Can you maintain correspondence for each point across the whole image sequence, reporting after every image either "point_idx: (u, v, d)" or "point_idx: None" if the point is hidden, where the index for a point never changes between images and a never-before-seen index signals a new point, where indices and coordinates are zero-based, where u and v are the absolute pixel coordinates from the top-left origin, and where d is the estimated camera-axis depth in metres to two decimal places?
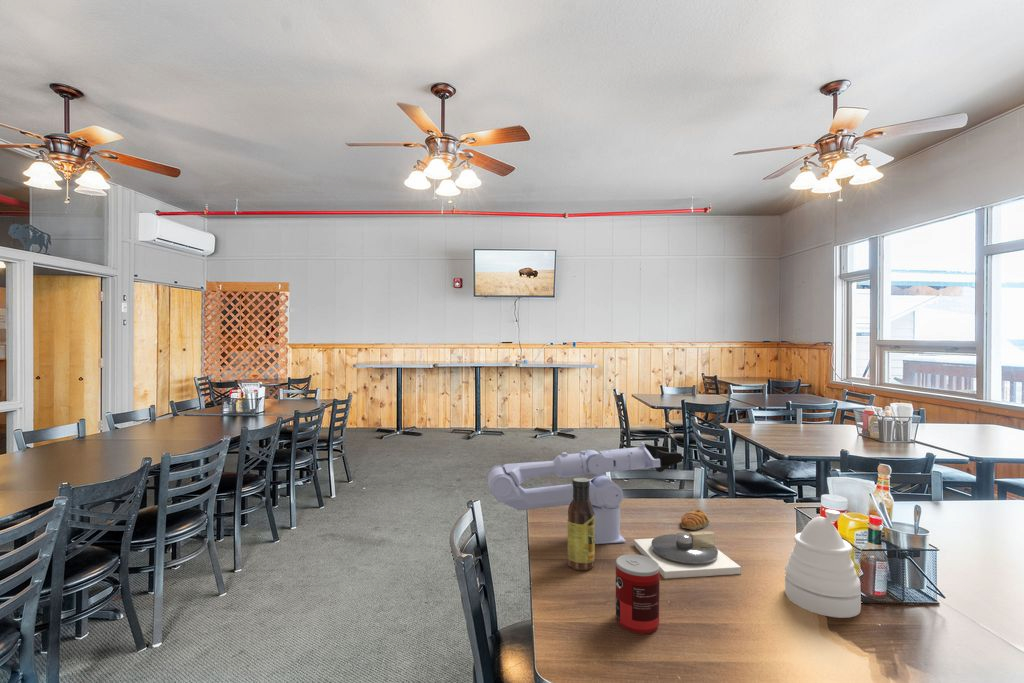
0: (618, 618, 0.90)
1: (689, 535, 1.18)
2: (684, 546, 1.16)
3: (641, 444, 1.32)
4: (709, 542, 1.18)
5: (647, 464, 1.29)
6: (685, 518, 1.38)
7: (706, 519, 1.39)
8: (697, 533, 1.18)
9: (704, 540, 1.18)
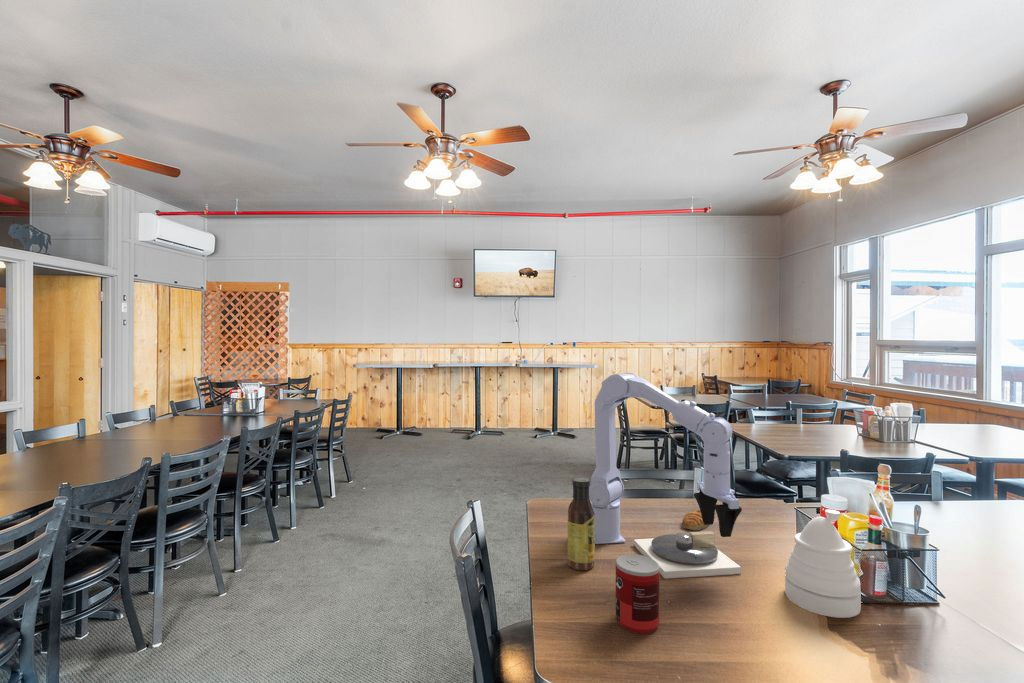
0: (618, 618, 0.90)
1: (689, 535, 1.18)
2: (684, 546, 1.16)
3: (731, 489, 1.14)
4: (709, 542, 1.18)
5: (718, 495, 1.11)
6: (686, 518, 1.38)
7: None
8: (697, 533, 1.18)
9: (704, 540, 1.18)
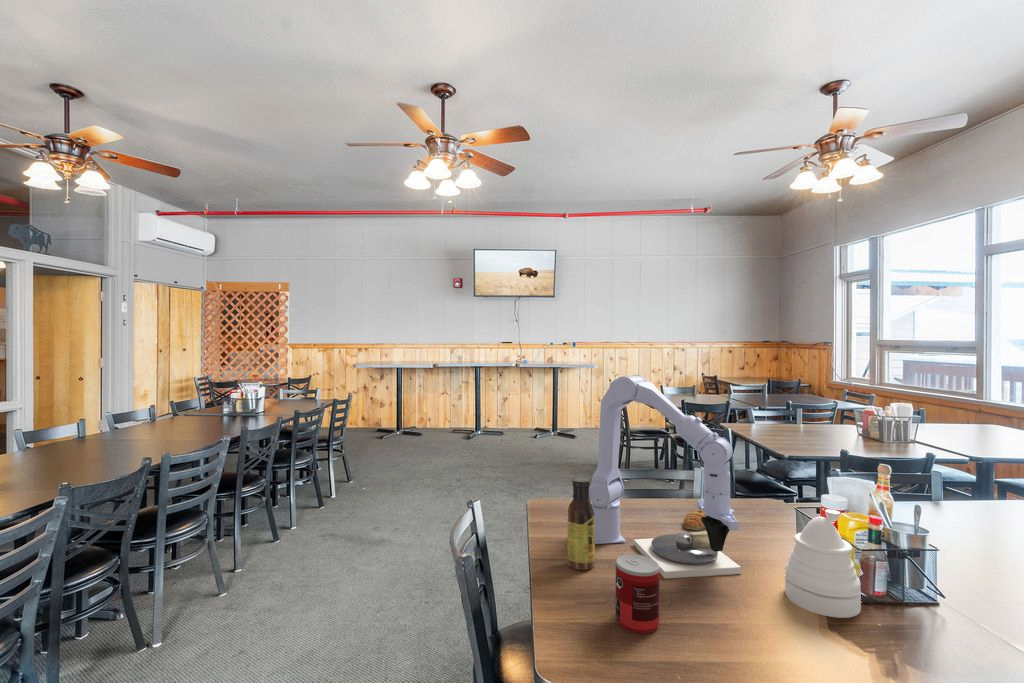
0: (618, 618, 0.90)
1: (689, 535, 1.18)
2: (684, 546, 1.16)
3: (731, 509, 1.14)
4: None
5: (718, 515, 1.11)
6: (688, 519, 1.38)
7: None
8: (697, 533, 1.18)
9: (704, 540, 1.18)
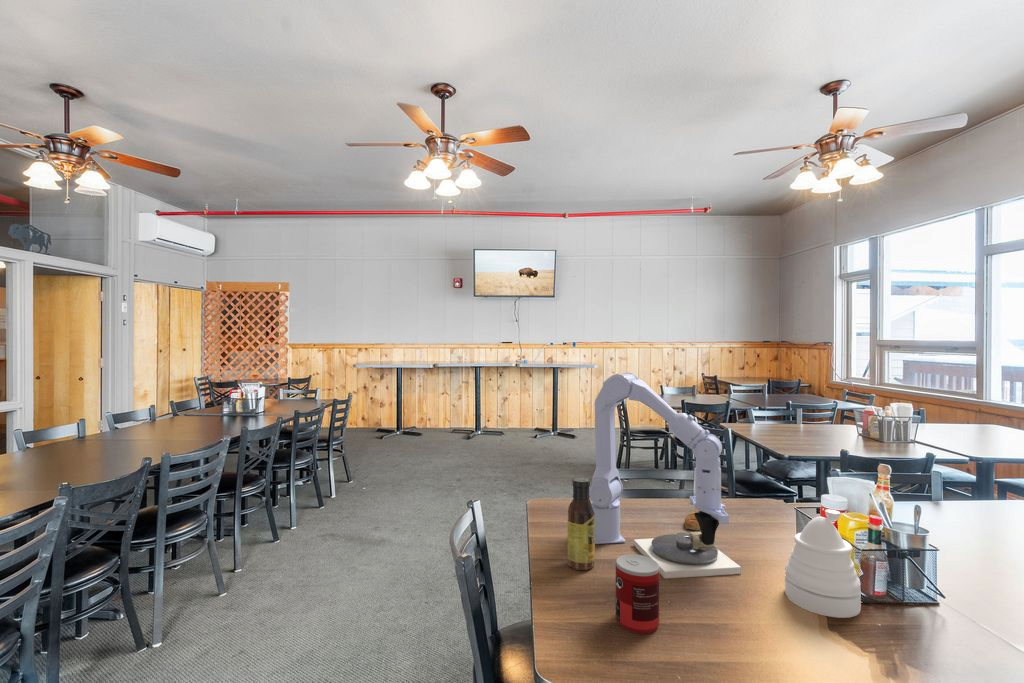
0: (618, 618, 0.90)
1: (689, 535, 1.18)
2: (684, 546, 1.16)
3: (722, 504, 1.18)
4: None
5: (709, 510, 1.14)
6: (689, 519, 1.38)
7: None
8: (697, 533, 1.18)
9: None
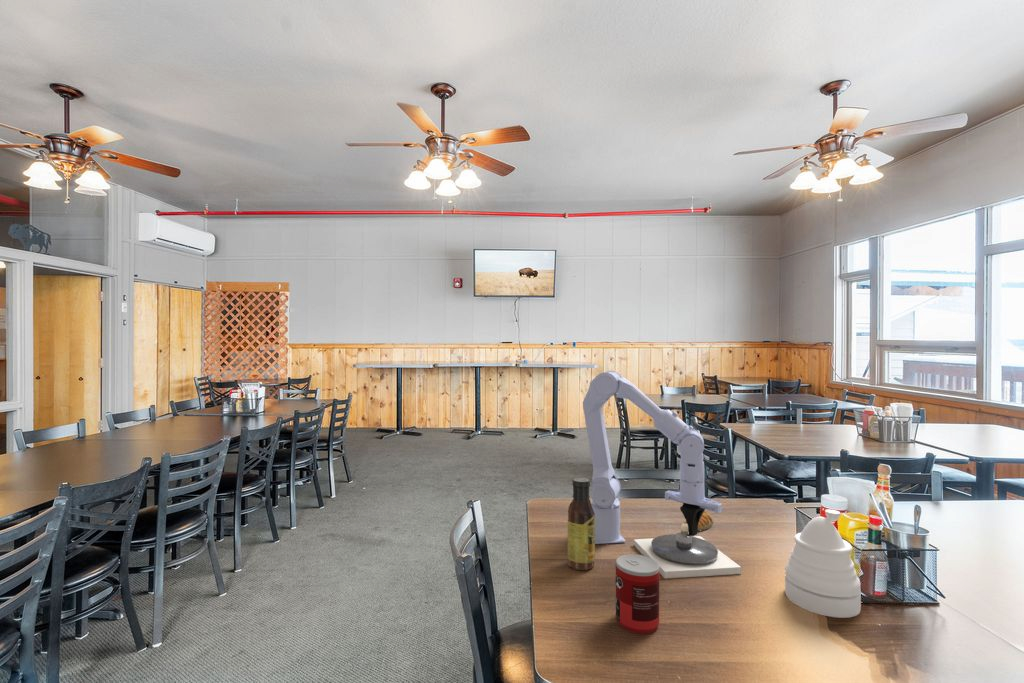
0: (618, 618, 0.90)
1: (684, 533, 1.19)
2: (691, 545, 1.17)
3: None
4: None
5: (700, 502, 1.19)
6: None
7: (710, 520, 1.38)
8: (685, 529, 1.21)
9: None
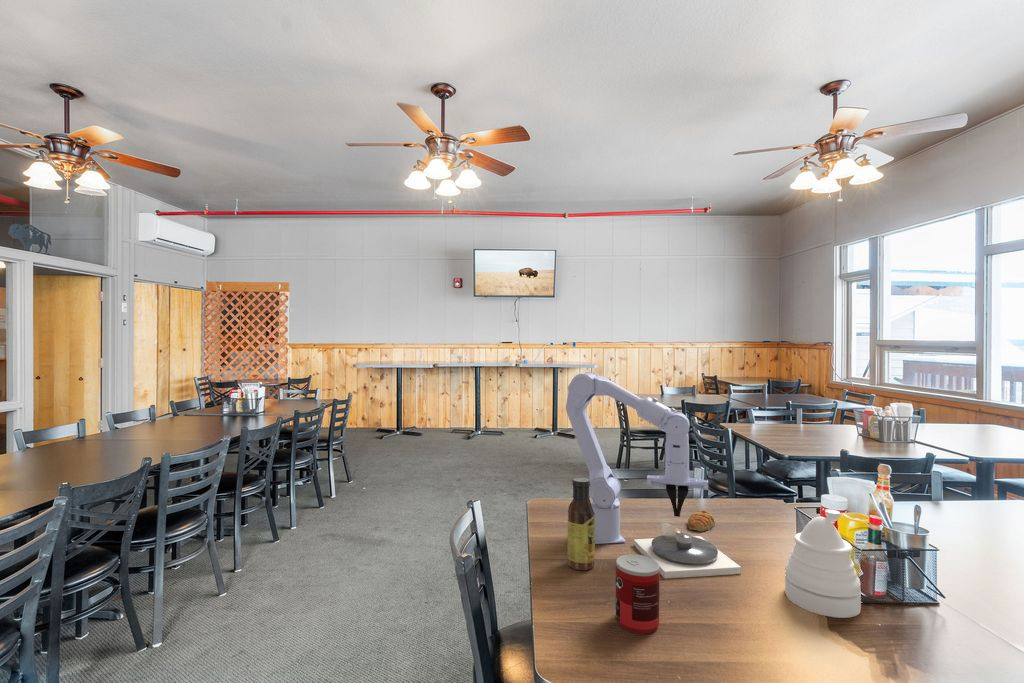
0: (618, 618, 0.90)
1: (680, 533, 1.19)
2: None
3: None
4: None
5: (689, 481, 1.22)
6: (692, 519, 1.37)
7: (713, 520, 1.38)
8: (675, 528, 1.21)
9: None
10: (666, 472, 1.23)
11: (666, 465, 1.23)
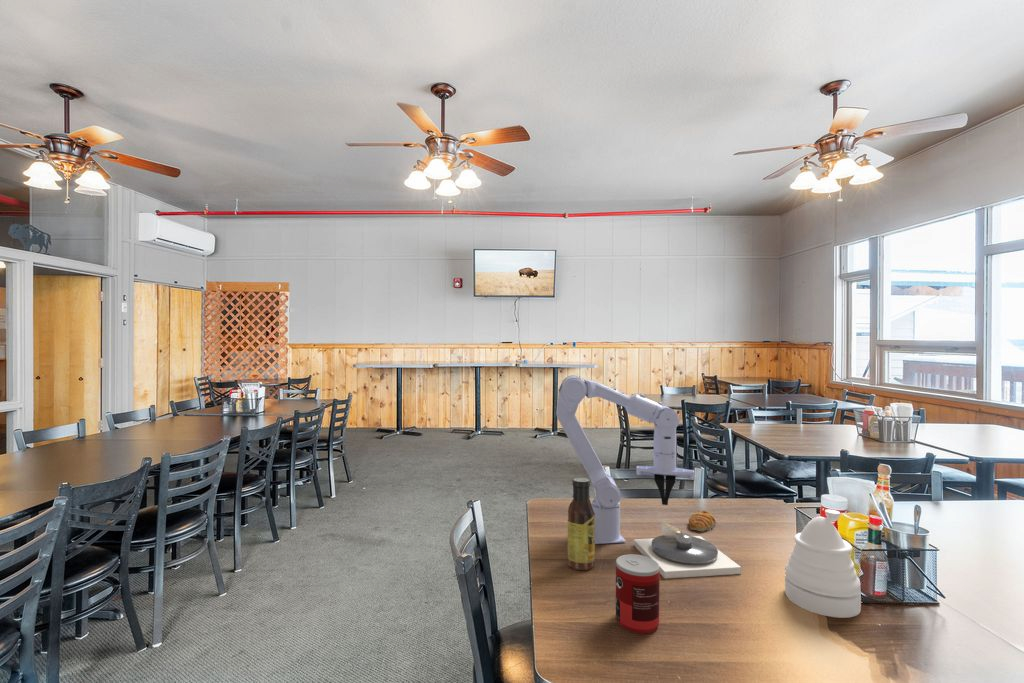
0: (618, 618, 0.90)
1: (680, 533, 1.19)
2: None
3: None
4: None
5: (676, 471, 1.27)
6: (693, 520, 1.37)
7: (714, 520, 1.38)
8: (675, 528, 1.21)
9: None
10: (654, 462, 1.29)
11: (654, 456, 1.29)
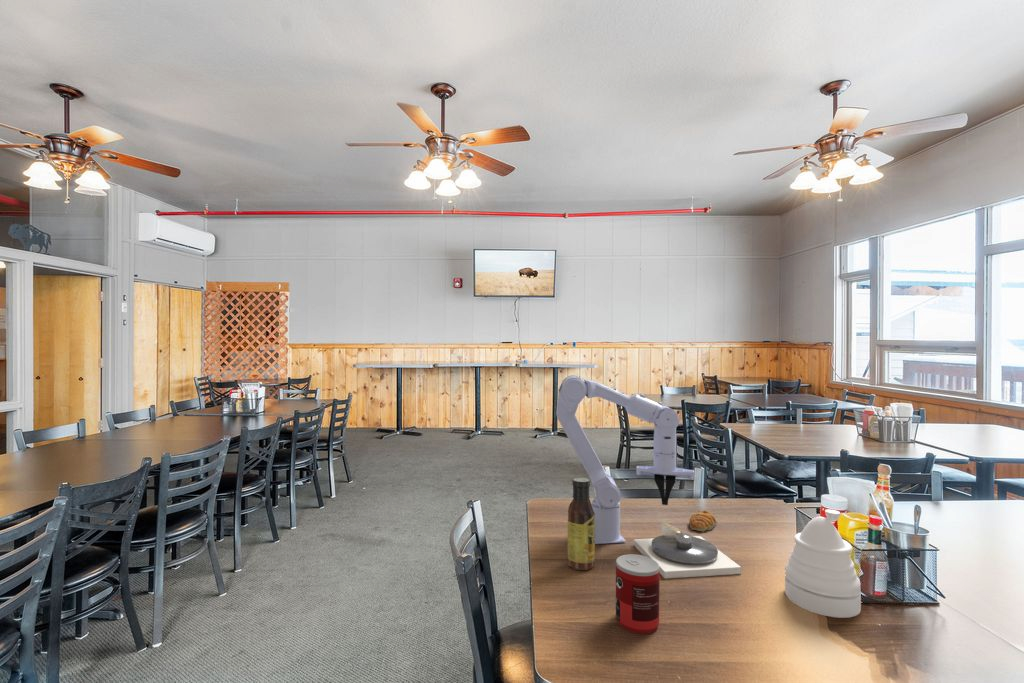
0: (618, 618, 0.90)
1: (680, 533, 1.19)
2: None
3: None
4: None
5: (676, 471, 1.27)
6: (694, 520, 1.37)
7: (714, 520, 1.38)
8: (675, 528, 1.21)
9: None
10: (654, 462, 1.29)
11: (654, 456, 1.29)
